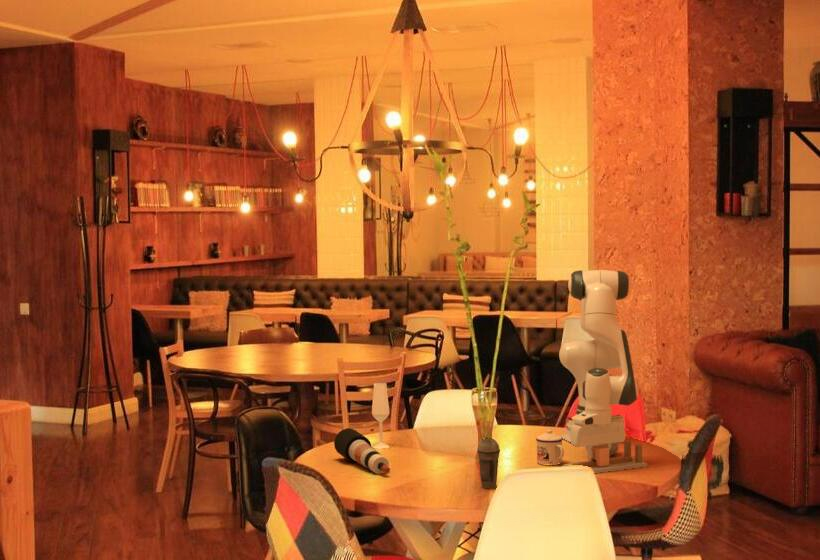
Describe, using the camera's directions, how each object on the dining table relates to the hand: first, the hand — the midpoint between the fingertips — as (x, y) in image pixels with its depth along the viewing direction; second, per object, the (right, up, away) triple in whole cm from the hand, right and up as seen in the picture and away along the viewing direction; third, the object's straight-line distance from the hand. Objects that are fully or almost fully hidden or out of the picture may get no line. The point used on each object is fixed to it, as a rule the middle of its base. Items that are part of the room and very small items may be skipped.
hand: (598, 457), depth 355 cm
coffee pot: (+1, -3, +19) cm, 19 cm away
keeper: (0, -2, 0) cm, 2 cm away
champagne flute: (-75, -3, +40) cm, 85 cm away
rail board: (+3, -4, +1) cm, 5 cm away
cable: (-79, -5, +7) cm, 80 cm away
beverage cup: (-39, -6, -23) cm, 46 cm away
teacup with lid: (-15, -4, +8) cm, 17 cm away
